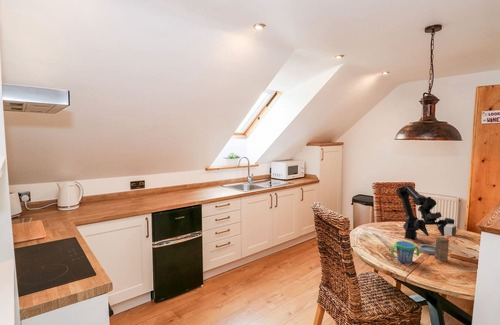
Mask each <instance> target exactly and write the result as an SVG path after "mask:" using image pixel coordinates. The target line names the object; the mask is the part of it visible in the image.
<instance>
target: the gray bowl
mask: <svg viewBox="0 0 500 325" xmlns="http://www.w3.org/2000/svg"><path fill="white" fill-rule="evenodd" d="M417 247H418V249H419V252H420V253H423V254H426V255H431V256H432V255H433V256H435V245H432V244H425V243H424V244H423V243H422V244H419V245H418V246H417Z"/></svg>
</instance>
